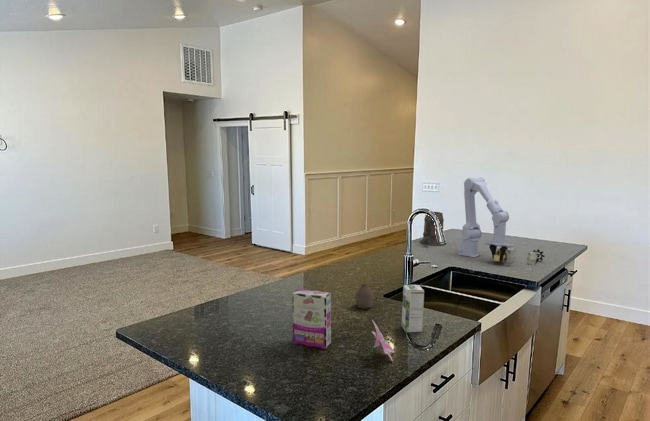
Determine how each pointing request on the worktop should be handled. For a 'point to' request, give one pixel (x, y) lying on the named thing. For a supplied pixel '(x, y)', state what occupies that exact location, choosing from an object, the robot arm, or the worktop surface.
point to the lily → (381, 342)
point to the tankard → (431, 230)
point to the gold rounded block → (497, 256)
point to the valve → (534, 257)
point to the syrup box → (412, 308)
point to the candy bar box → (312, 318)
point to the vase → (363, 297)
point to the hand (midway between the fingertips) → (497, 259)
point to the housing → (508, 254)
